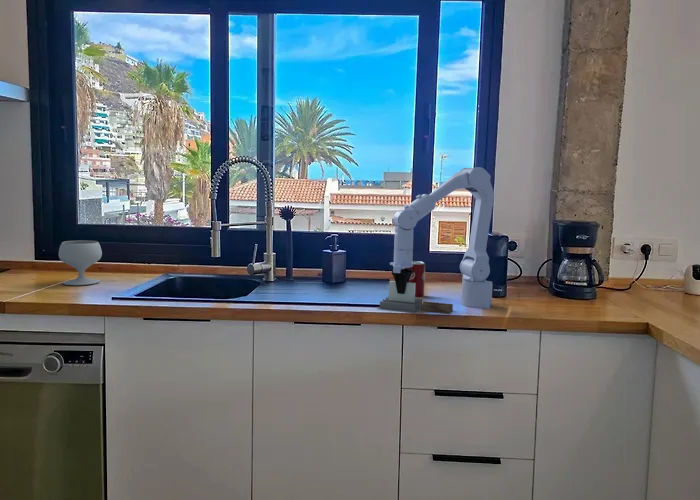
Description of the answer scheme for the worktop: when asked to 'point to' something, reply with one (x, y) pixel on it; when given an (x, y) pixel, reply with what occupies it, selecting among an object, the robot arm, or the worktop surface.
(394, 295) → the light grey block
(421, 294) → the soda can
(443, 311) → the stand
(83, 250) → the chalice
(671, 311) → the worktop surface
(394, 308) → the rack
